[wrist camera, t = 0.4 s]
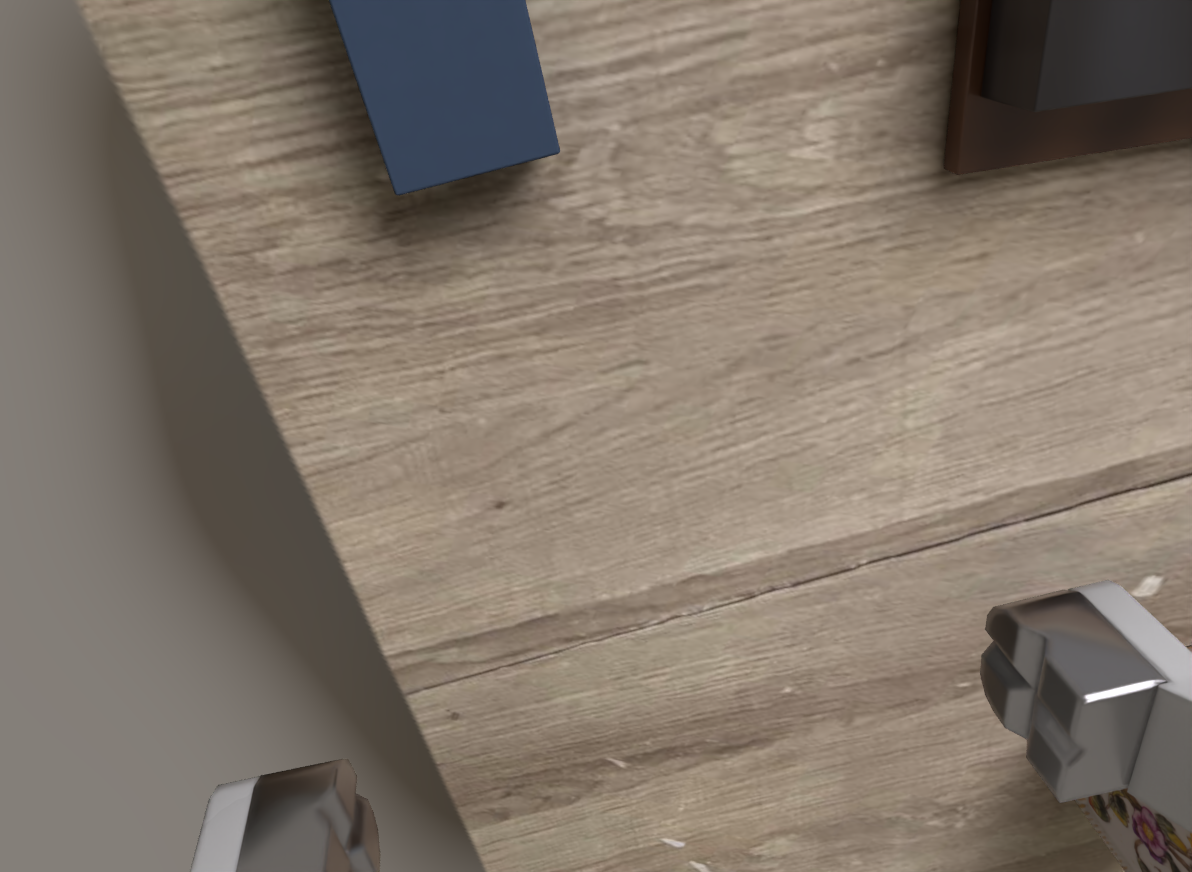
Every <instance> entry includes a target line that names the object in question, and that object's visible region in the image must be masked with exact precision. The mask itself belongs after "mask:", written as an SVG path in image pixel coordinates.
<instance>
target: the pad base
mask: <svg viewBox="0 0 1192 872" xmlns="http://www.w3.org/2000/svg"><path fill="white" fill-rule="evenodd" d="M1189 138H1192V0H961V2H960V12H959V22H958V32H957V41H956V51H955V61H954V71H953V81H952V90H951V100H950V110H949V120H948V130H947V139H946V149H945V159H944V169H945V170H948V171H950V172H952V173H954V174H957V175H961V174H967V173H973V172H980V171H986V170H993V169H999V168H1005V167H1012V166H1018V165H1024V164H1031V163H1037V162H1043V161H1050V160H1056V159H1062V158H1069V157H1075V156H1081V155H1088V154H1094V153H1100V152H1107V151H1113V150H1119V149H1126V148H1132V147H1138V146H1145V145H1151V144H1158V143H1164V142H1170V141H1177V140H1183V139H1189Z"/></svg>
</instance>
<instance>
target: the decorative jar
mask: <svg viewBox="0 0 1192 872" xmlns="http://www.w3.org/2000/svg"><path fill="white" fill-rule="evenodd" d="M1186 648H1188V649H1189V650H1190V651H1191V652H1192V646H1189V647H1186ZM1127 790H1128V788H1126V789H1122V790H1117V791H1113V792H1108V793H1103V794H1099V795H1094V796H1090V797H1085V798H1080V799H1076V802H1077V804H1078V806H1079V808H1080V809H1081V810H1082V811H1083V813H1084V814H1085V816H1086V817H1087V819H1088V820H1089V822H1090V823H1091V825H1092V826H1093V827H1094V829H1095V830H1096V831H1097V833H1098V834H1099V836H1100V837H1101V838H1102V840H1103V841H1104V843H1105V844H1106V845H1107V846H1108V848H1109V849H1110V851H1111V852H1112V854H1113V855H1114V856H1115V858H1116V859H1117V861H1118V862H1119V863H1120V865H1121V866H1122V868H1123V869H1124V870H1125V872H1192V833H1191V832H1189V831H1187V830H1186V829H1184V828H1183V827H1181V826H1180V825H1178V824H1176V823H1175V822H1173V821H1172V820H1170V819H1169V818H1167V817H1165V816H1164V815H1162V814H1161V813H1159V812H1158V811H1156V810H1154V809H1153V808H1151V807H1150V806H1148V805H1147V804H1145V803H1143V802H1142V801H1140V800H1139V799H1137V798H1136V797H1134V796H1132V795H1131V794H1129V793H1128V792H1127Z"/></svg>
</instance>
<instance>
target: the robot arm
mask: <svg viewBox="0 0 1192 872" xmlns="http://www.w3.org/2000/svg"><path fill="white" fill-rule="evenodd" d="M985 630H986V631H987V633H988V634H989V635H990V637H991V638H992V639H993V640H994V641H993V642H992V643H991V644H990V646H989V647H988V648H987V649H986V650H985V651H984V653H983V654H982V657H981V669H980V675H981V680H982V684H983V688H984V692H985V695H986V697H987V699H988V701H989V703H990V705H991V708H992V710H993V711H994V713H995V714H996V716H997V717H998V719H999V720H1000V721H1001V723H1002V724H1003V726H1004V727H1005V728H1006V729H1008V730H1010V731H1012V732H1014V733H1016V734H1018V735H1020V736H1022V737H1024V738H1025V739H1027V750H1026V758H1027V759H1028V761H1029V762H1030V763H1031V765H1032V766H1033V767H1034V769H1035V770H1036V772H1037V773H1038V774H1039V776H1040V777H1041V778H1042V780H1043V781H1044V782H1045V784H1046V785H1047V787H1048V788H1049V789H1050V791H1051V792H1052V793H1053V795H1054V796H1055V798H1056V799H1057V800H1058V802H1059V803H1062V802H1067V801H1071V800H1076V799H1080V798H1085V797H1090V796H1094V795H1099V794H1103V793H1108V792H1113V791H1117V790H1122V789H1126V788H1128V790H1127V792H1128V793H1129V794H1131V795H1132V796H1134V797H1136V798H1137V799H1139V800H1140V801H1142V802H1143V803H1145V804H1147V805H1148V806H1150V807H1151V808H1153V809H1154V810H1156V811H1158V812H1159V813H1161V814H1162V815H1164V816H1165V817H1167V818H1169V819H1170V820H1172V821H1173V822H1175V823H1176V824H1178V825H1180V826H1181V827H1183V828H1184V829H1186V830H1187V831H1189V832H1191V833H1192V652H1191V651H1190V650H1189V649H1188V648H1186V647H1185V646H1184V645H1183V644H1182V643H1181V642H1180V641H1179V640H1178V639H1177V638H1176V637H1175V636H1174V635H1173V634H1172V633H1170V632H1169V631H1168V630H1167V629H1166V628H1165V627H1164V626H1163V625H1162V624H1161V623H1160V622H1159V621H1158V620H1157V619H1156V618H1154V617H1153V616H1152V615H1151V614H1150V613H1149V612H1148V611H1147V610H1146V609H1145V608H1144V607H1143V606H1142V605H1141V604H1139V603H1138V602H1137V601H1136V600H1135V599H1134V598H1133V597H1132V596H1131V595H1130V594H1129V593H1128V592H1127V591H1126V590H1125V589H1123V588H1122V587H1121V586H1120V585H1119V584H1117V583H1114V582H1112V581H1110V580H1105V581H1101V582H1097V583H1092V584H1088V585H1084V586H1079V587H1075V588H1071V589H1068V590H1060V591H1056V592H1052V593H1048V594H1044V595H1040V596H1036V597H1031V598H1027V599H1023V600H1019V601H1015V602H1011V603H1007V604H1003V605H999V606H995V607H993V608H992V609H991V611H990V612H989V613H988V615H987V620H986V627H985ZM356 783H357V775H356V773H355V771H354V769H353V767H352V765H351V763H350V762H349V760H348V759H340V760H335V761H330V762H325V763H320V764H315V765H310V766H305V767H300V768H296V769H291V770H286V771H281V772H276V773H271V774H266V775H261V776H258V777H254V778H249V779H244V780H240V781H235V782H230V783H226V784H221V785H218V786H217V788H216V789H215V791H214V792H213V794H212V795H211V797H210V799H209V801H208V805H207V809H206V813H205V816H204V820H203V824H202V828H201V831H200V835H199V839H198V843H197V847H196V850H195V854H194V858H193V862H192V866H191V869H190V872H380V846H379V835H378V828H377V824H376V820H375V817H374V812H373V810H372V808H371V805H370V803H369V801H368V799H366V798H364V797H362V796H360V795H358V794H356Z"/></svg>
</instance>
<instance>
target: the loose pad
mask: <svg viewBox="0 0 1192 872" xmlns="http://www.w3.org/2000/svg"><path fill="white" fill-rule="evenodd" d="M329 2H330V5H331V8H332V11H333V14H334V17H335V20H336V22H337V25H338V28H339V31H340V34H341V37H342V40H343V43H344V46H345V49H346V52H347V55H348V58H349V61H350V63H351V66H352V69H353V72H354V75H355V78H356V81H357V84H358V87H359V90H360V93H361V96H362V99H363V102H364V104H365V107H366V110H367V113H368V116H369V119H370V122H371V125H372V128H373V131H374V134H375V137H376V140H377V143H378V146H379V148H380V151H381V154H382V157H383V160H384V163H385V166H386V169H387V172H388V175H389V178H390V181H391V184H392V187H393V189H394V192H395V194H396V195H403V194H407V193H410V192H414V191H418V190H422V189H426V188H430V187H433V186H437V185H441V184H445V183H449V182H452V181H456V180H460V179H464V178H468V177H472V176H475V175H479V174H483V173H487V172H491V171H494V170H498V169H502V168H506V167H510V166H514V165H517V164H521V163H525V162H529V161H533V160H536V159H540V158H544V157H548V156H552V155H556V154H558V153H560V148H559V144H558V140H557V135H556V131H555V127H554V122H553V118H552V114H551V109H550V105H549V101H548V96H547V92H546V88H545V83H544V79H543V75H542V70H541V66H540V62H539V57H538V53H537V49H536V44H535V40H534V36H533V31H532V27H531V23H530V18H529V14H528V10H527V5H526V1H525V0H329Z"/></svg>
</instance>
